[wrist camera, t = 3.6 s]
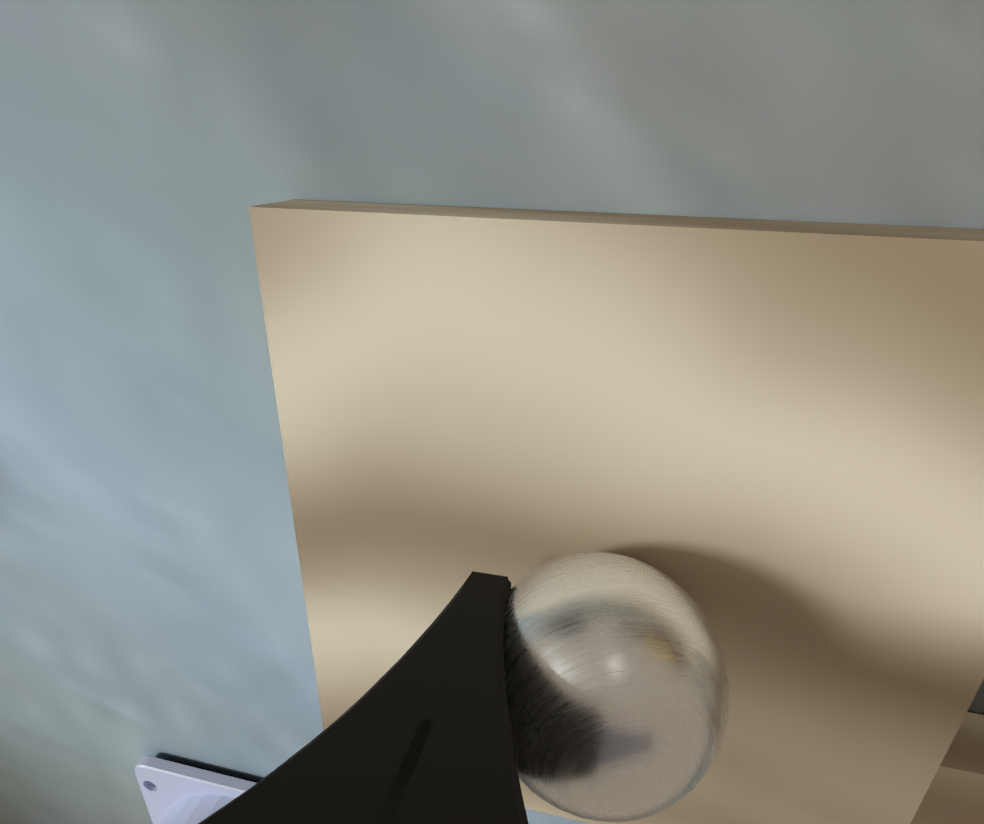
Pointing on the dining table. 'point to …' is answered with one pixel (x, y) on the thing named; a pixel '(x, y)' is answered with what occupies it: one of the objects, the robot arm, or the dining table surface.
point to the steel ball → (611, 686)
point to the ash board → (658, 464)
